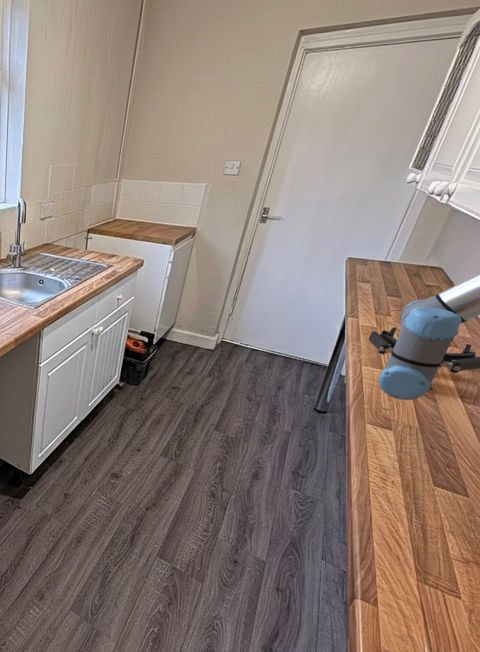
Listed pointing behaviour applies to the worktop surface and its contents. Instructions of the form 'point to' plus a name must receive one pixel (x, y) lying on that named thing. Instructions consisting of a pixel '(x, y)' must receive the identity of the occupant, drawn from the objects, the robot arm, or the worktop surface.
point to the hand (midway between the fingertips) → (428, 340)
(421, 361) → the robot arm
